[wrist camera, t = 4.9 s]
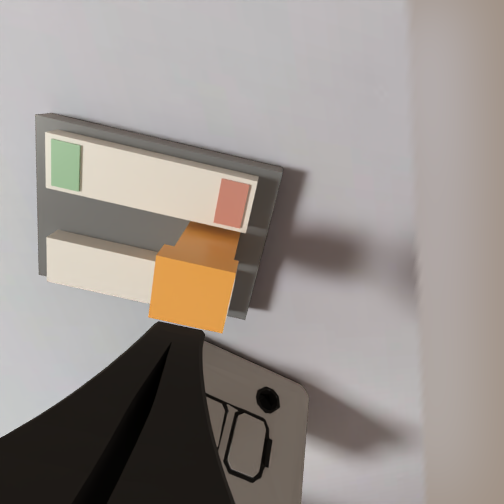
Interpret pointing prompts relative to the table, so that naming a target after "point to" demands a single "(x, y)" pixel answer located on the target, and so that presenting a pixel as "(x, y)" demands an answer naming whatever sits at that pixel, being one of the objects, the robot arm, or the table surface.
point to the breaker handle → (195, 277)
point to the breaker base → (140, 206)
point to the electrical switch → (256, 427)
